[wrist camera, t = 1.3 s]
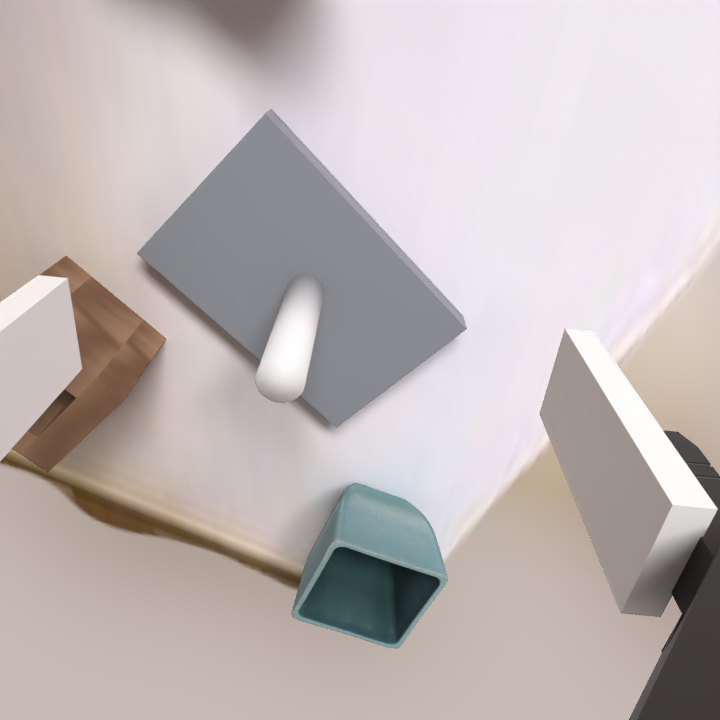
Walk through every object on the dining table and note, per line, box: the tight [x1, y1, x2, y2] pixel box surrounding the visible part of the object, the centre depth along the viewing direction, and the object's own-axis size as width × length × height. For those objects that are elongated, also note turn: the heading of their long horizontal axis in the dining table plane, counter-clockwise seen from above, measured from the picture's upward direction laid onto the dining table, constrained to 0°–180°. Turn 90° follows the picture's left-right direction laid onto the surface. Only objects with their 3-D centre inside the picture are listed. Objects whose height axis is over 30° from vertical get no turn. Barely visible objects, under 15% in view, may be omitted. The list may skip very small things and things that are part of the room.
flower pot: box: [292, 483, 448, 649], centre depth 46 cm, size 9×9×9 cm
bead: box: [12, 256, 166, 472], centre depth 39 cm, size 8×8×8 cm
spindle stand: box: [137, 109, 467, 427], centre depth 34 cm, size 18×12×13 cm, turn 43°
